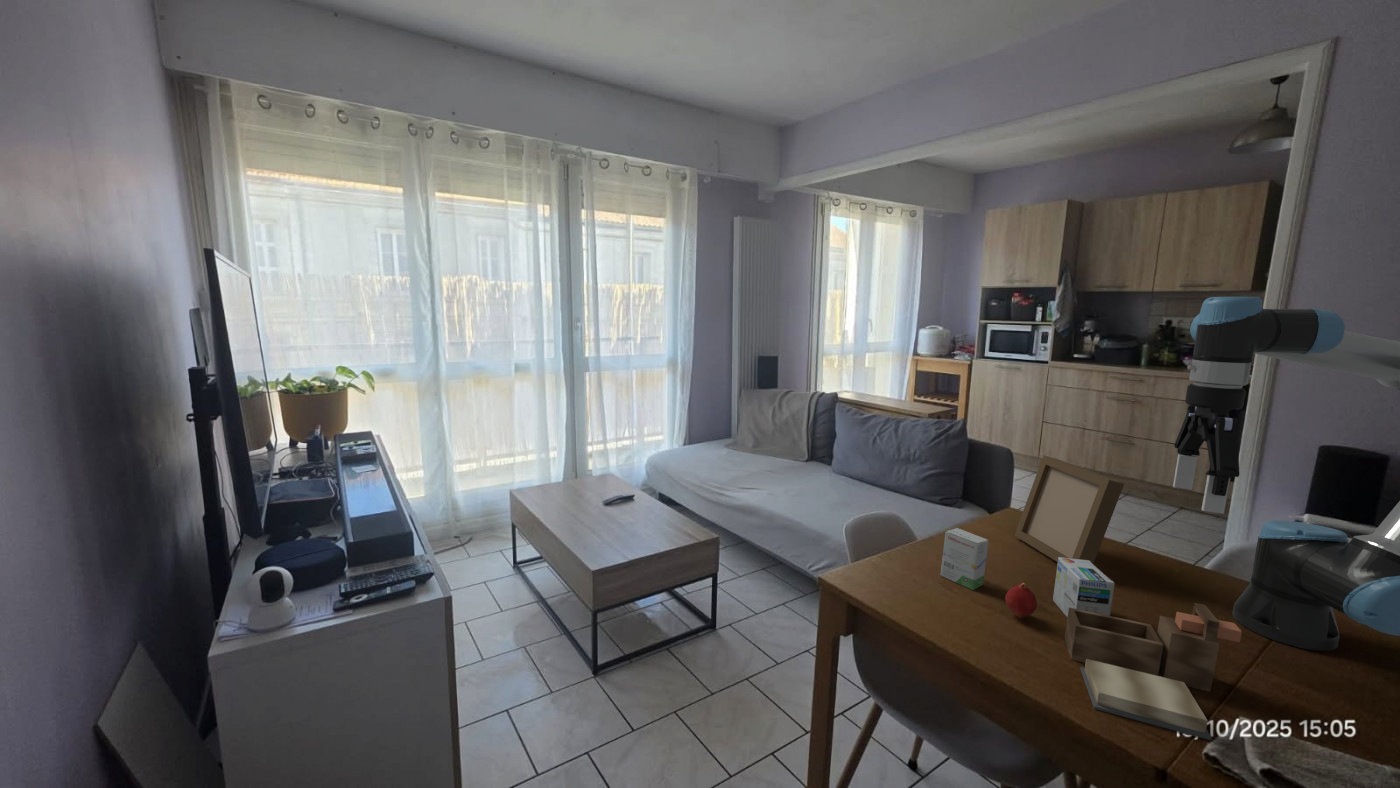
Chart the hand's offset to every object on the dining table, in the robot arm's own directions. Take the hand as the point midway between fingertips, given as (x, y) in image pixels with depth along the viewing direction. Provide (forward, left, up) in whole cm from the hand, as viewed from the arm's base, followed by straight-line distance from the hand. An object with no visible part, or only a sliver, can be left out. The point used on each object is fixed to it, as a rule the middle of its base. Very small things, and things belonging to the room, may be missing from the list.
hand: (1196, 499), depth 98 cm
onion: (+25, -2, -32) cm, 41 cm away
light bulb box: (+13, -9, -32) cm, 36 cm away
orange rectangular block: (-2, +7, -22) cm, 23 cm away
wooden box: (+7, +7, -32) cm, 33 cm away
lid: (+9, +18, -31) cm, 37 cm away
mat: (+9, +18, -32) cm, 38 cm away
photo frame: (+10, -42, -32) cm, 54 cm away
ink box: (+36, -14, -32) cm, 50 cm away
